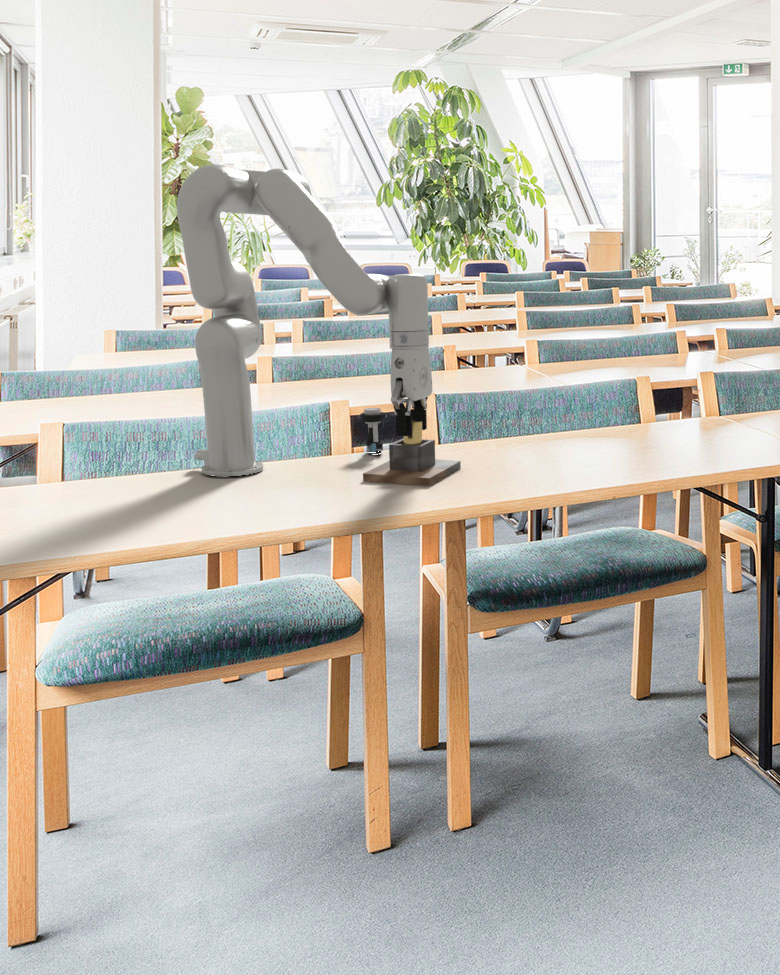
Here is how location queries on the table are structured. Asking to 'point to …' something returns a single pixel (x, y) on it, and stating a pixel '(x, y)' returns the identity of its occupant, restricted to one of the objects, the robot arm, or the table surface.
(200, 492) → the table surface
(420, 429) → the hinge pin
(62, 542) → the table surface
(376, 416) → the push button
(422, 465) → the base with square socket
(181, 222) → the robot arm
